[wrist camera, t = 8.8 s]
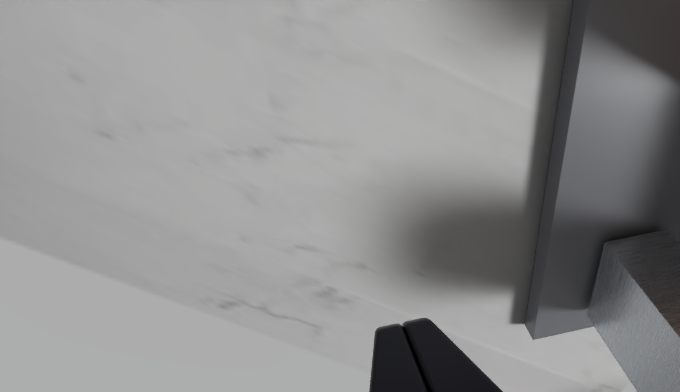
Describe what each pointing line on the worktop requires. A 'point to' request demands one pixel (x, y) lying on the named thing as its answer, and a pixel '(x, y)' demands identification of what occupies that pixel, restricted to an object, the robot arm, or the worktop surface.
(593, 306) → the light grey block
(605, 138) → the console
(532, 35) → the worktop surface
